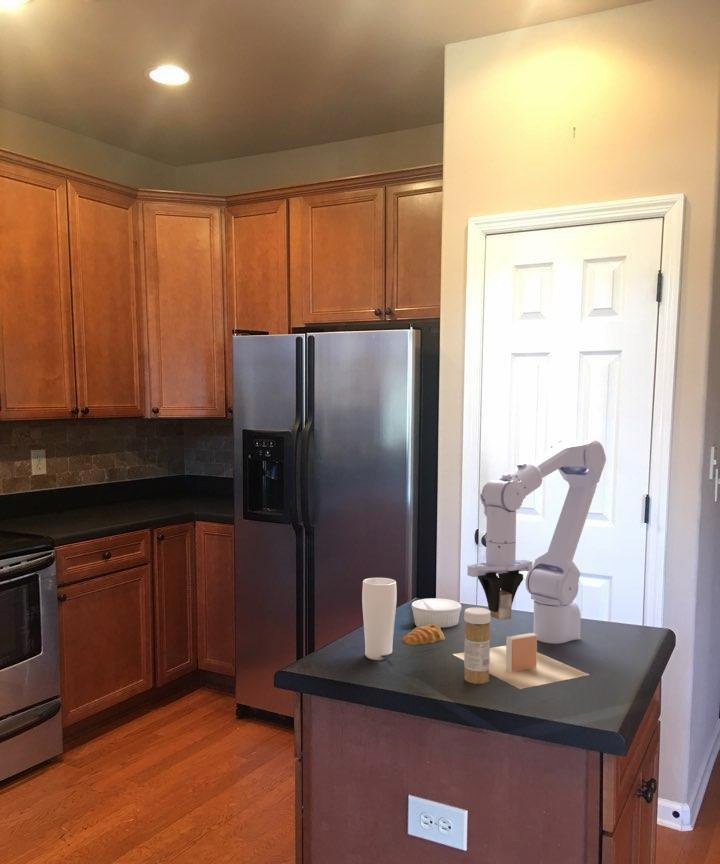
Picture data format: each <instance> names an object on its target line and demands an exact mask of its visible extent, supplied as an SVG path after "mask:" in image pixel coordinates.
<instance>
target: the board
mask: <svg viewBox="0 0 720 864" xmlns="http://www.w3.org/2000/svg"><path fill="white" fill-rule="evenodd" d="M452 655H453V656H455V657H456V658H458V659H460V660H462V661H464V652H458V653H452ZM489 675H492V676H493V677H495V678H497V679H499V680H501V681H503V682H504V683H506V684H509V685H510V686H512V687H514V688H516V689H518V690H525V689H529V688H533V687H538V686H543V685H549V684H553V683H557V682H562V681H566V680H567V681H568V680H572V679H577V678H578V679H579V678H582V677H587V676H590V674H589V673H587V672H584V671H581V670H580V669H577V668H575V667H572V666H571V665H568V664H566V663H564V662H561V661H558V659H557V660H556V659H555V658H553V657H552V658H551V657H549V656H547V655H545V654H542V653H540V652H538V651H537V667H534V668H529V669H524V670H519V671H513V672H510V671H508V670H506V645H500V646H495V647H490V666H489Z"/></svg>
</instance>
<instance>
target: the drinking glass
mask: <svg viewBox="0 0 720 864" xmlns="http://www.w3.org/2000/svg"><path fill="white" fill-rule="evenodd" d="M361 589H362V590H361V591H362V592H361V602H362V604H361V605H362V619H363V631H364V633H363V634H364V648H365V649H364V654H365V657H366V658H368V659H369V660H373V661H386V660H387V659H386V657H384V656H388V655H390V654H392V653H393V640H394V634H395V633H394V631H395V623H396V622H395V620H396V609H397V596H398V595H397V594H398V593H397V590H398V589H397V581H396V580H395V579H393V578H390V577H389V578H388V577H369V578H364V579H363V581H362V588H361Z"/></svg>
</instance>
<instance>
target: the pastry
mask: <svg viewBox="0 0 720 864" xmlns="http://www.w3.org/2000/svg"><path fill="white" fill-rule="evenodd" d="M443 640H446V637H445V635H444V633H443V631H442V629H441V628H440V627H438V626H437V625H435V624H433V625H426V626H421V627H417V626H416V627H414V628H413V629H411V631H409V632H407V633H406V634H405V635H404V636H402V638H401V642H402V643H403V644H406V645H410V646H411V645H412V646H415V645H425V644H433V643H435V642H440V641H443Z"/></svg>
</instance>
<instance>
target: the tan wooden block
mask: <svg viewBox="0 0 720 864" xmlns="http://www.w3.org/2000/svg"><path fill="white" fill-rule="evenodd" d="M512 606H513V603H512V594H510V593H509V592H506V591H503V590H501V589H500V594H499V609H498V612H493V611H491V610H490V614H491V618H495V619H497V620H499V621H504V620H511V619H512V608H513V607H512Z"/></svg>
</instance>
